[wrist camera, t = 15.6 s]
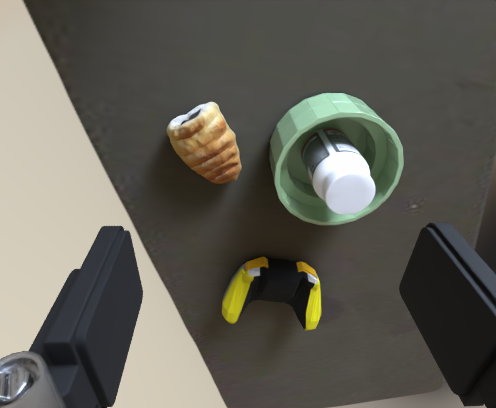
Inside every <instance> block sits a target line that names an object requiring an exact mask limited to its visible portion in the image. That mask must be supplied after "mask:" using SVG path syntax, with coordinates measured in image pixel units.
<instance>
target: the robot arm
mask: <svg viewBox="0 0 496 408" xmlns="http://www.w3.org/2000/svg"><path fill="white" fill-rule="evenodd" d="M399 290H400V294H401V297H402V299H403V301H404V302H405V304H406V306H407V308H408V310H409V312H410V314H411V316H412V317H413V319H414V321H415V323H416V325H417V327H418V329H419V331H420V332H421V334H422V336H423V338H424V340H425V342H426V344H427V346H428V347H429V349H430V351H431V353H432V355H433V357H434V359H435V361H436V363H437V364H438V366H439V368H440V370H441V372H442V374H443V376H444V378H445V379H446V381H447V383H448V385H449V387H450V388H451V390H452V391H453V392H454V393H455V394H456V395H458V396H459V397H460V399H461V401H462V402H463V405H464V406H482V405H484V404H485V406H486V407H487V408H496V275H495V274H494V272H493V271H492V270H491V269H490V268H489V267H488V266H487V265H486V263H485V262H484V261H483V260H482V259H481V258H480V257H479V255H478V254H477V253H476V252H475V251H474V250H473V249H472V248H471V246H470V245H469V244H468V243H467V242H466V241H465V240H464V238H463V237H462V236H461V235H460V234H459V233H458V232H457V231H456V229H455V228H454V227H453V226H452V225H451V224H449V223H429V224H428V225H427V226H426V228H423V229H422V230H421V232H420V234H419V237H418V239H417V242H416V244H415V247H414V250H413V252H412V255H411V257H410V260H409V262H408V265H407V268H406V270H405V273H404V275H403V278H402V280H401V283H400V287H399ZM142 297H143V290H142V285H141V280H140V276H139V271H138V267H137V262H136V258H135V253H134V248H133V244H132V239H131V235H130V232H129V231H124V229H123V227H122V226H103V227H102V228H101V229H100V231H99V233H98V235H97V237H96V239H95V241H94V243H93V245H92V247H91V249H90V251H89V253H88V255H87V256H86V258H85V260H84V262H83V264H82V267H81V269H74V270H73V271H72V272H71V273H70V275H69V277H68V278H67V280H66V282H65V284H64V286H63V288H62V289H61V291H60V293H59V295H58V297H57V299H56V301H55V303H54V305H53V306H52V308H51V310H50V312H49V314H48V316H47V318H46V320H45V321H44V323H43V325H42V327H41V329H40V331H39V333H38V334H37V336H36V338H35V340H34V342H33V344H32V346H31V347H30V349H29V351H22V352H17V353H13V354H10V355H8V356H6V357H3V358H1V359H0V408H107V407H112V406H113V404H114V402H115V399H116V396H117V392H118V388H119V384H120V381H121V377H122V373H123V370H124V366H125V362H126V358H127V355H128V351H129V347H130V344H131V340H132V336H133V332H134V328H135V325H136V321H137V318H138V314H139V310H140V307H141V303H142Z"/></svg>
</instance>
